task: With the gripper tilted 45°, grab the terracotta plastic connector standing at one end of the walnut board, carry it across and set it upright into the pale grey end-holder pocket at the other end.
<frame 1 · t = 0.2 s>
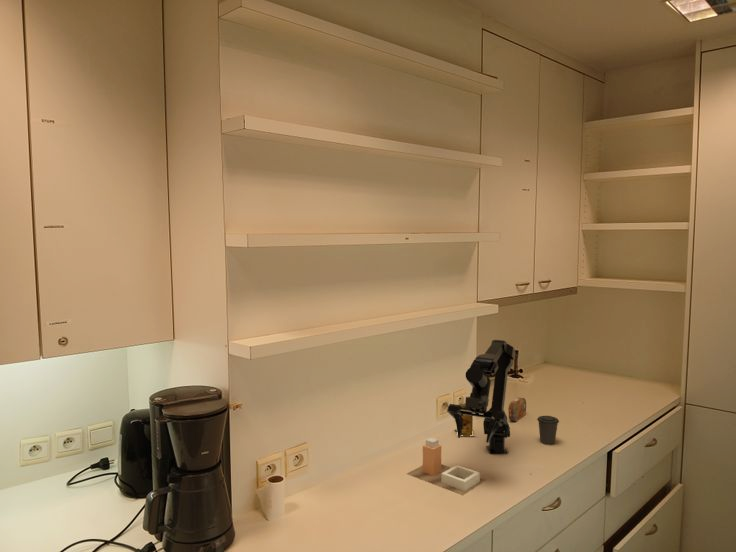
hand: (472, 440, 172), 15 cm above the worktop, tool tilted 35°, fingers open, 9 cm apart
coffee cup: (547, 442, 208), on the worktop
connector: (431, 471, 180), point 1 cm above the worktop, touching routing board
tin: (517, 418, 236), on the worktop
condiment: (464, 433, 218), on the worktop
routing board: (445, 480, 176), on the worktop
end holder: (460, 482, 172), resting on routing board
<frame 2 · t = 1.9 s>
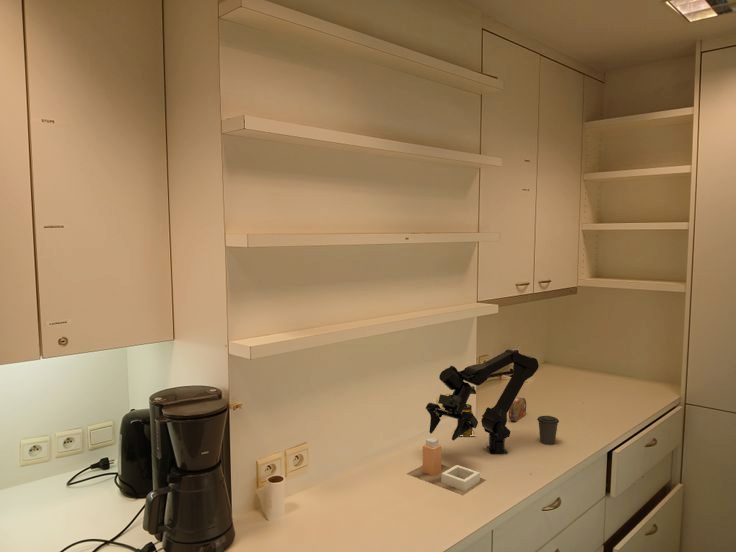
hand: (441, 436, 183), 12 cm above the worktop, tool tilted 45°, fingers open, 9 cm apart
nothing on the worktop moved.
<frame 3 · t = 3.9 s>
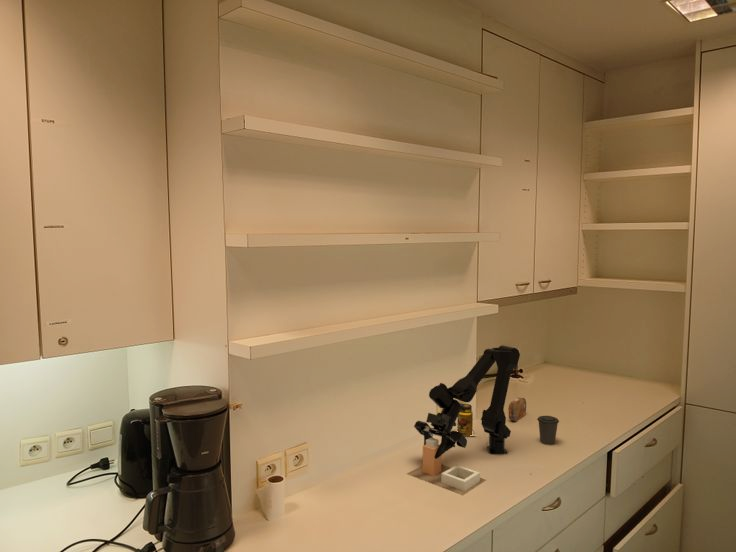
hand: (429, 456, 179), 7 cm above the worktop, tool tilted 45°, fingers closed on connector, 4 cm apart
connector: (431, 471, 180), point 1 cm above the worktop, touching gripper, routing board
everything else where it was.
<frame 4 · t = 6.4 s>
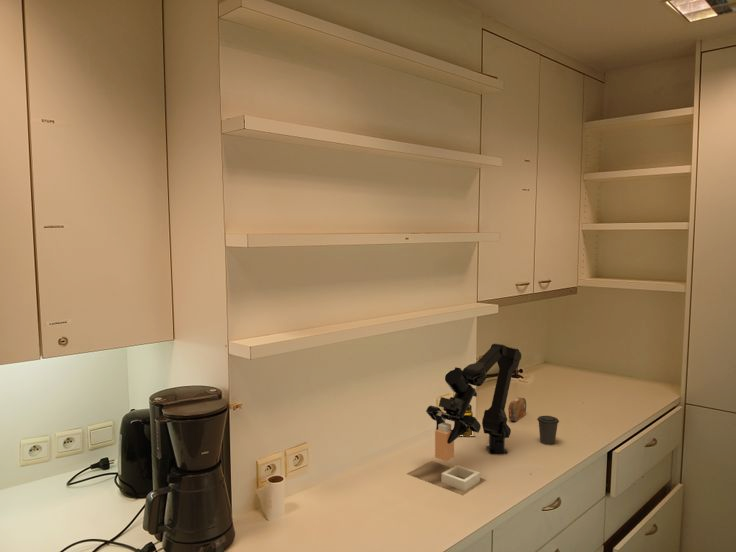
hand: (442, 441, 175), 13 cm above the worktop, tool tilted 45°, fingers closed on connector, 4 cm apart
connector: (444, 457, 176), point 8 cm above the worktop, touching gripper
everything else where it was.
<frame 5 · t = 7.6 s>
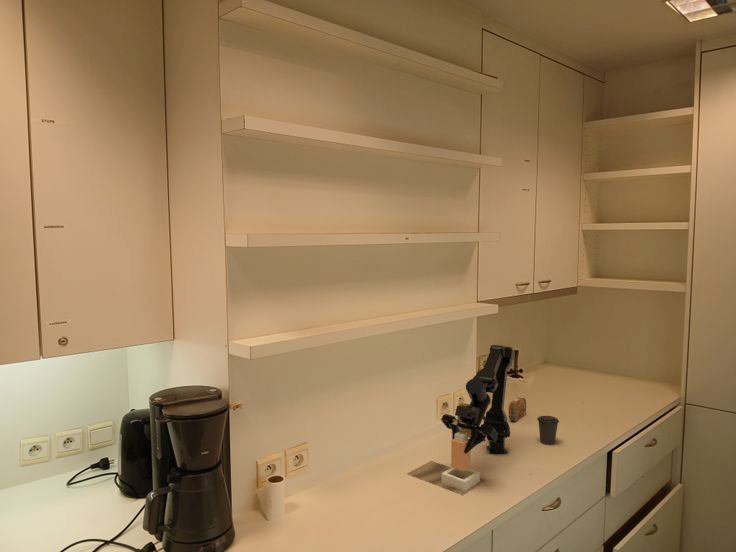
hand: (458, 450, 171), 12 cm above the worktop, tool tilted 45°, fingers closed on connector, 4 cm apart
connector: (460, 467, 172), point 6 cm above the worktop, touching gripper
everything else where it was.
when the fingers open (8 cm above the worktop, at t = 8.7 s): connector drops 1 cm, resting on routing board.
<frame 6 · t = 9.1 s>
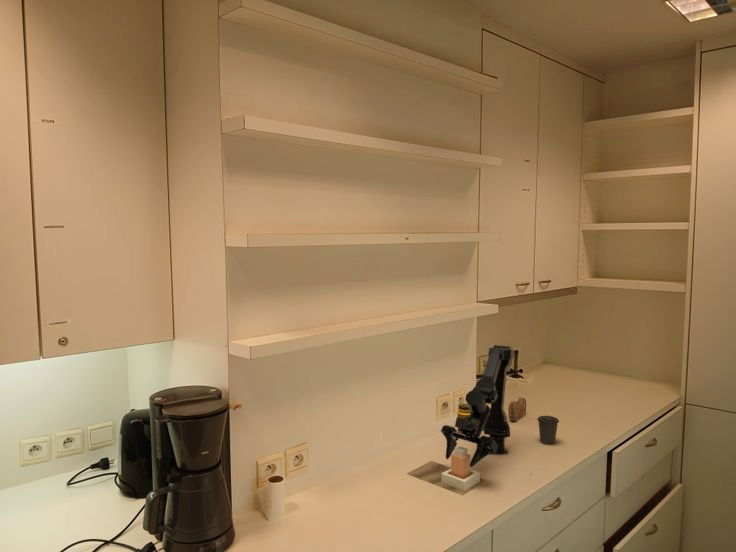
hand: (458, 462, 171), 8 cm above the worktop, tool tilted 45°, fingers open, 9 cm apart
connector: (460, 482, 172), point 1 cm above the worktop, touching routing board
everything else where it was.
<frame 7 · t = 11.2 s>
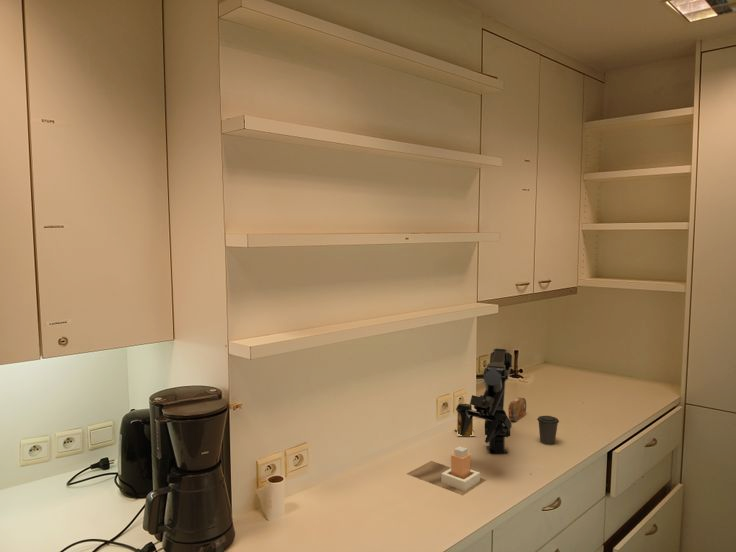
hand: (473, 438, 177), 13 cm above the worktop, tool tilted 45°, fingers open, 9 cm apart
nothing on the worktop moved.
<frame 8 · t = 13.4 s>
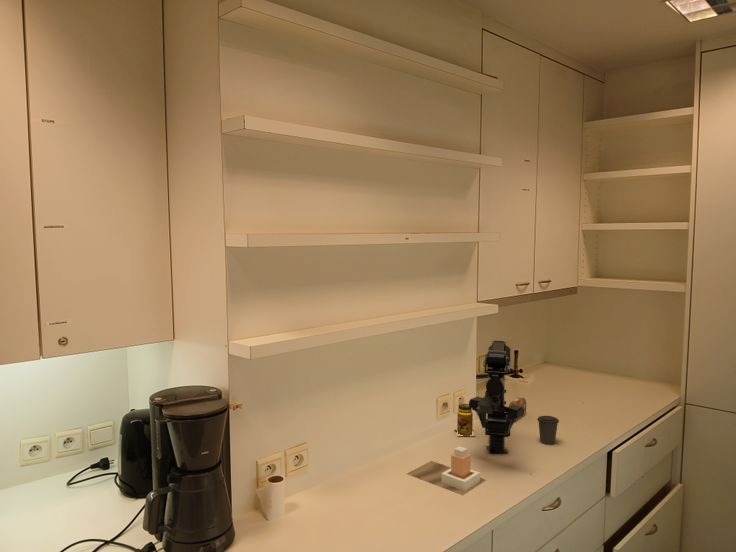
hand: (495, 431, 188), 12 cm above the worktop, tool pointing down, fingers open, 9 cm apart
nothing on the worktop moved.
at the end: connector 0.0 cm off-centre on the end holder, point 0.0 cm above the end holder's base; connector tilted 0°; the gripper is holding nothing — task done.
